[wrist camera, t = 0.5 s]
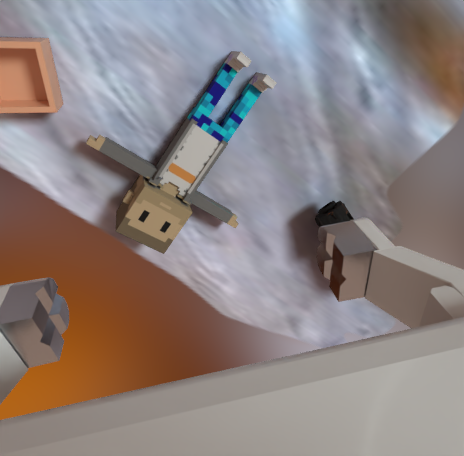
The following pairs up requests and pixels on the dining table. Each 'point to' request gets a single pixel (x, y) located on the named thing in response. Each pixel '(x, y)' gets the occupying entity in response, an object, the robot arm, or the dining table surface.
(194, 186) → the toy
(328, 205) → the tool
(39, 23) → the dining table surface
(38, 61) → the orange square open box
